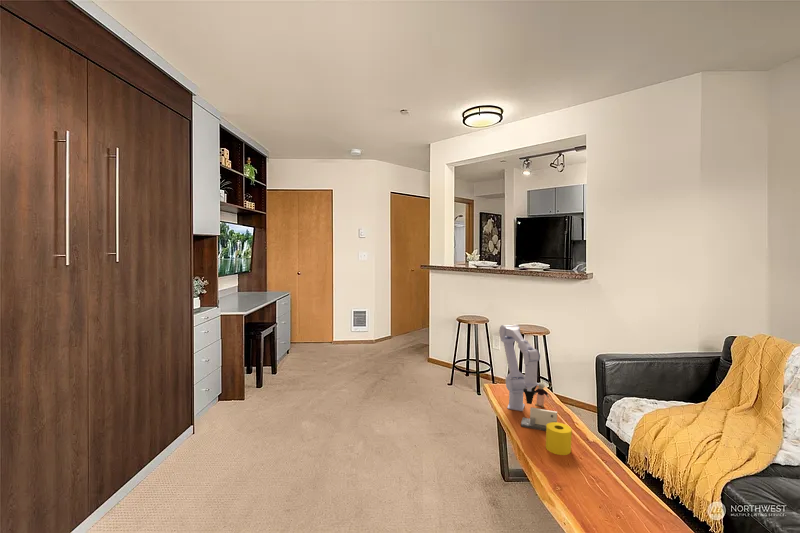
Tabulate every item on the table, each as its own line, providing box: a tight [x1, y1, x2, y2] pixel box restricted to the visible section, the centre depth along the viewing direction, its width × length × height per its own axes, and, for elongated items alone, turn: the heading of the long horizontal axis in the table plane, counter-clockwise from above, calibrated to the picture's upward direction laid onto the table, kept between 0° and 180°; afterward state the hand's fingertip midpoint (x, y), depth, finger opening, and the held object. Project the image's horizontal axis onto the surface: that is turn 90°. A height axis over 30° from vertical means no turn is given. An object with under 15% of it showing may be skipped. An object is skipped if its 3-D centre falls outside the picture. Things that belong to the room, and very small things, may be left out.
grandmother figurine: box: [534, 382, 549, 408], centre depth 216 cm, size 8×4×13 cm, turn 68°
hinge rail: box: [520, 417, 555, 432], centre depth 191 cm, size 8×20×4 cm, turn 67°
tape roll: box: [545, 421, 573, 456], centre depth 171 cm, size 10×10×9 cm
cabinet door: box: [529, 407, 558, 426], centre depth 191 cm, size 2×12×7 cm, turn 67°
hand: (530, 400), depth 199 cm, fingers open, 7 cm apart
